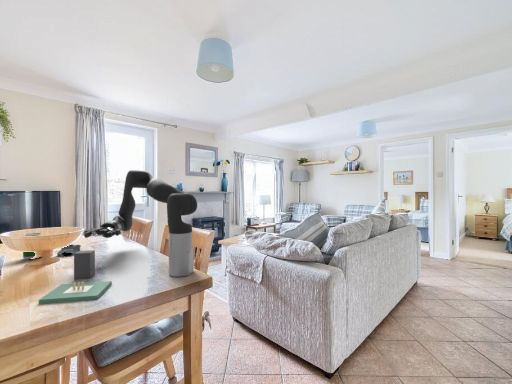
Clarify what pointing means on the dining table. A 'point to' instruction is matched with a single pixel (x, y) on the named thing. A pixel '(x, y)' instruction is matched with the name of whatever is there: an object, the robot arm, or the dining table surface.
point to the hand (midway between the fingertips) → (96, 235)
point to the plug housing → (84, 264)
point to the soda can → (30, 254)
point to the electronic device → (69, 250)
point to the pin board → (76, 292)
